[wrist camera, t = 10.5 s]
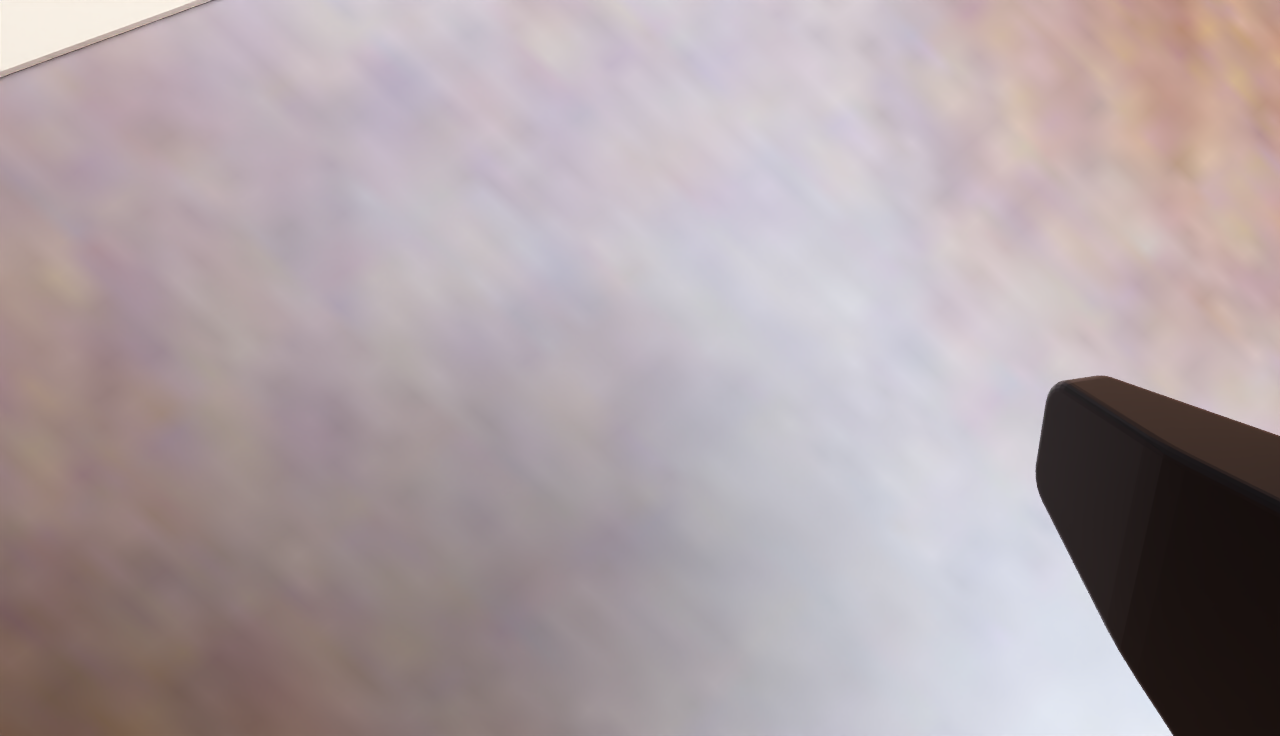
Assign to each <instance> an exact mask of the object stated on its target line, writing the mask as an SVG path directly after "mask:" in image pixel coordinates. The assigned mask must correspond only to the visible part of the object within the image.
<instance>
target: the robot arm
mask: <svg viewBox="0 0 1280 736" xmlns="http://www.w3.org/2000/svg"><path fill="white" fill-rule="evenodd" d="M1036 482H1037V488H1038V491H1039V494H1040V497H1041V499H1042V502H1043V504H1044V505H1045V507H1046V509H1047V511H1048V513H1049V515H1050V517H1051V519H1052V521H1053V523H1054V525H1055V527H1056V529H1057V531H1058V533H1059V535H1060V537H1061V539H1062V541H1063V543H1064V545H1065V547H1066V549H1067V551H1068V553H1069V555H1070V557H1071V559H1072V561H1073V563H1074V565H1075V567H1076V569H1077V571H1078V573H1079V575H1080V577H1081V579H1082V581H1083V583H1084V585H1085V587H1086V589H1087V591H1088V593H1089V594H1090V596H1091V598H1092V600H1093V602H1094V604H1095V606H1096V608H1097V610H1098V612H1099V614H1100V616H1101V618H1102V620H1103V622H1104V624H1105V626H1106V628H1107V630H1108V632H1109V633H1110V635H1111V637H1112V639H1113V641H1114V643H1115V644H1116V646H1117V648H1118V650H1119V652H1120V653H1121V655H1122V656H1123V658H1124V660H1125V661H1126V663H1127V665H1128V666H1129V668H1130V669H1131V671H1132V673H1133V674H1134V676H1135V678H1136V679H1137V681H1138V682H1139V684H1140V685H1141V687H1142V688H1143V690H1144V691H1145V693H1146V694H1147V696H1148V698H1149V699H1150V701H1151V702H1152V704H1153V705H1154V707H1155V708H1156V710H1157V711H1158V713H1159V714H1160V716H1161V717H1162V719H1163V721H1164V722H1165V724H1166V725H1167V727H1168V728H1169V730H1170V731H1171V733H1172V734H1173V736H1280V436H1278V435H1275V434H1273V433H1270V432H1267V431H1264V430H1261V429H1258V428H1255V427H1252V426H1250V425H1247V424H1244V423H1241V422H1238V421H1235V420H1232V419H1229V418H1227V417H1224V416H1221V415H1218V414H1215V413H1212V412H1209V411H1206V410H1204V409H1201V408H1198V407H1195V406H1192V405H1189V404H1186V403H1183V402H1181V401H1178V400H1175V399H1172V398H1169V397H1166V396H1163V395H1160V394H1158V393H1155V392H1152V391H1149V390H1146V389H1143V388H1140V387H1137V386H1135V385H1132V384H1129V383H1126V382H1123V381H1120V380H1117V379H1115V378H1112V377H1108V376H1092V377H1085V378H1078V379H1072V380H1065V381H1061V382H1058V383H1057V384H1056V385H1054V386H1053V387H1052V388H1051V390H1050V392H1049V394H1048V396H1047V400H1046V405H1045V411H1044V417H1043V424H1042V430H1041V436H1040V443H1039V449H1038V455H1037V462H1036Z"/></svg>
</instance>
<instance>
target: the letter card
mask: <svg viewBox="0 0 1280 736" xmlns="http://www.w3.org/2000/svg"><path fill="white" fill-rule="evenodd" d="M209 1H211V0H0V77H3V76H6V75H8V74H11V73H14V72H17V71H19V70H22V69H25V68H28V67H30V66H33V65H36V64H39V63H41V62H44V61H47V60H50V59H52V58H55V57H58V56H61V55H63V54H66V53H69V52H71V51H74V50H77V49H80V48H82V47H85V46H88V45H91V44H93V43H96V42H99V41H102V40H104V39H107V38H110V37H113V36H115V35H118V34H121V33H124V32H126V31H129V30H132V29H135V28H137V27H140V26H143V25H146V24H148V23H151V22H154V21H157V20H159V19H162V18H165V17H168V16H170V15H173V14H176V13H178V12H181V11H184V10H187V9H189V8H192V7H195V6H198V5H200V4H203V3H206V2H209Z"/></svg>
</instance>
